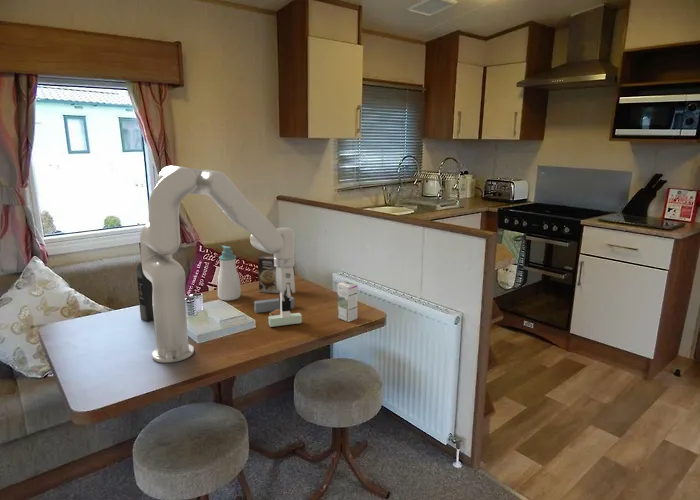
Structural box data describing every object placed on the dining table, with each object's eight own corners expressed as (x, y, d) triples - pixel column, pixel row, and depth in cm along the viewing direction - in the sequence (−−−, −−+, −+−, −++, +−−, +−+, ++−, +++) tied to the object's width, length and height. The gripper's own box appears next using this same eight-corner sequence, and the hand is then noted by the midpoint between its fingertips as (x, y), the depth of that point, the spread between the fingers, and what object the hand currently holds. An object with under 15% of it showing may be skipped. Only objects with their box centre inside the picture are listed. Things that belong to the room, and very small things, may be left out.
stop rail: (294, 307, 188) (294, 298, 187) (255, 312, 182) (255, 303, 181) (292, 305, 191) (292, 296, 190) (254, 310, 185) (254, 301, 184)
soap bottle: (234, 292, 207) (231, 243, 202) (245, 297, 200) (242, 247, 195) (214, 297, 201) (211, 246, 195) (224, 302, 194) (221, 250, 188)
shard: (276, 324, 171) (276, 320, 171) (259, 321, 174) (259, 317, 174) (291, 315, 181) (291, 311, 180) (275, 312, 184) (274, 308, 183)
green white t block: (299, 320, 174) (299, 287, 171) (301, 322, 172) (301, 290, 169) (268, 323, 170) (268, 290, 167) (270, 326, 167) (269, 293, 164)
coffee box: (258, 292, 208) (257, 258, 204) (263, 288, 214) (262, 254, 210) (277, 293, 206) (276, 259, 203) (282, 289, 213) (281, 255, 209)
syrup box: (357, 318, 178) (358, 283, 174) (347, 322, 173) (348, 286, 170) (347, 314, 181) (347, 280, 178) (337, 318, 177) (337, 283, 174)
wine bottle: (147, 322, 172) (140, 244, 165) (139, 318, 175) (132, 242, 168) (161, 317, 176) (154, 242, 169) (153, 314, 179) (146, 240, 173)
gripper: (300, 266, 159) (300, 315, 164) (288, 255, 174) (289, 301, 178) (279, 268, 157) (280, 318, 161) (269, 257, 171) (270, 303, 175)
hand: (285, 308), depth 169 cm, fingers closed on green white t block, 3 cm apart
